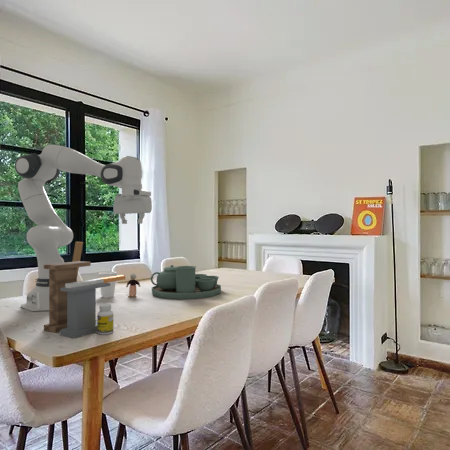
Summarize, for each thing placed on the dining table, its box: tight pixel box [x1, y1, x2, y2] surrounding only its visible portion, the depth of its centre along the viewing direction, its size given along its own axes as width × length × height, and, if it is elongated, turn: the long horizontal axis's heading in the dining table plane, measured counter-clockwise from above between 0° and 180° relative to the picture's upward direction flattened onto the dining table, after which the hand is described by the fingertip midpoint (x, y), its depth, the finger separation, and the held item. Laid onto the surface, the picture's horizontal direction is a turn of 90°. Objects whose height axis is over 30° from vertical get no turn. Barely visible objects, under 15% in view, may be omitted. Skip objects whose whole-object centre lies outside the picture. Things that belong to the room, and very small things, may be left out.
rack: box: [59, 283, 110, 339], centre depth 129 cm, size 7×16×16 cm, turn 150°
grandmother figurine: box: [125, 273, 141, 298], centre depth 194 cm, size 8×4×13 cm, turn 101°
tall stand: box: [43, 260, 92, 334], centre depth 135 cm, size 7×15×24 cm, turn 150°
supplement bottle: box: [96, 303, 114, 336], centre depth 127 cm, size 5×5×10 cm
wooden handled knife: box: [65, 274, 126, 289], centre depth 134 cm, size 3×25×2 cm, turn 150°
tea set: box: [150, 264, 222, 300], centre depth 206 cm, size 40×40×16 cm
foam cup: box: [98, 271, 118, 299], centre depth 195 cm, size 10×9×13 cm
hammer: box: [71, 241, 84, 276], centre depth 211 cm, size 20×5×30 cm, turn 82°
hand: (132, 223), depth 159 cm, fingers open, 8 cm apart
